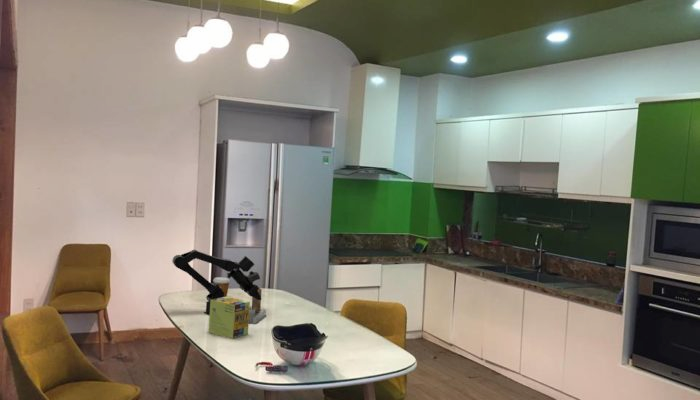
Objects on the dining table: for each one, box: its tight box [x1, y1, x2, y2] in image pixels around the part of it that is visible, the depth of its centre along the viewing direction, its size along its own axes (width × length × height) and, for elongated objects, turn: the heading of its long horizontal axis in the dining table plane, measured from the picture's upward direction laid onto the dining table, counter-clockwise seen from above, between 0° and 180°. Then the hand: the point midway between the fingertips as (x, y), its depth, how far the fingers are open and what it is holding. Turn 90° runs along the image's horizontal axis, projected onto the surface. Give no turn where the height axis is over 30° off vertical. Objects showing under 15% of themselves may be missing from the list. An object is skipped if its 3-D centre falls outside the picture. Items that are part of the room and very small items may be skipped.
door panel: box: [251, 287, 262, 313], centre depth 312 cm, size 3×6×12 cm, turn 26°
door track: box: [249, 307, 267, 325], centre depth 296 cm, size 8×18×4 cm, turn 172°
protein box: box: [208, 296, 251, 340], centre depth 268 cm, size 10×15×16 cm
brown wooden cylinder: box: [213, 276, 231, 297], centre depth 338 cm, size 10×10×12 cm
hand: (259, 298), depth 313 cm, fingers closed on door panel, 6 cm apart
